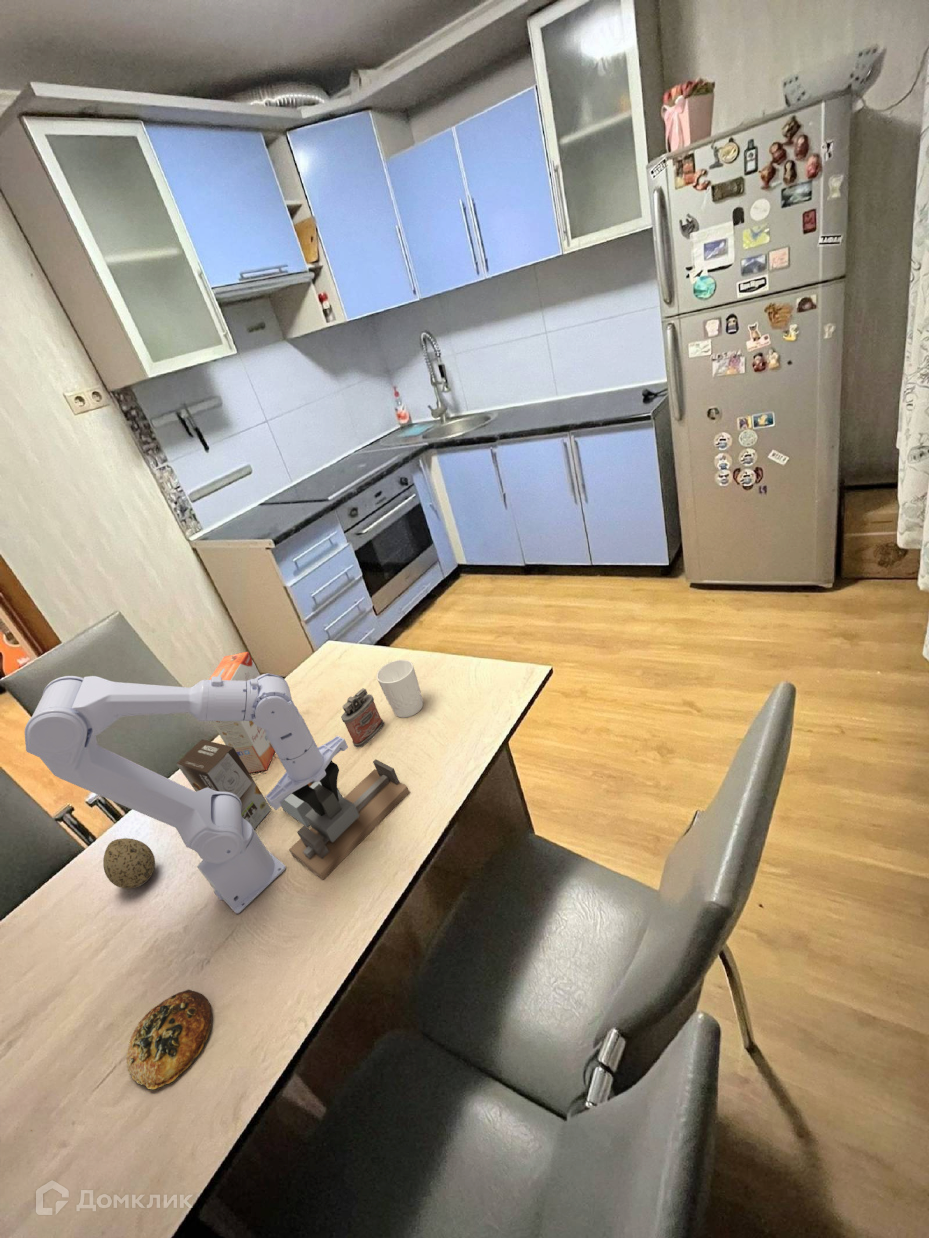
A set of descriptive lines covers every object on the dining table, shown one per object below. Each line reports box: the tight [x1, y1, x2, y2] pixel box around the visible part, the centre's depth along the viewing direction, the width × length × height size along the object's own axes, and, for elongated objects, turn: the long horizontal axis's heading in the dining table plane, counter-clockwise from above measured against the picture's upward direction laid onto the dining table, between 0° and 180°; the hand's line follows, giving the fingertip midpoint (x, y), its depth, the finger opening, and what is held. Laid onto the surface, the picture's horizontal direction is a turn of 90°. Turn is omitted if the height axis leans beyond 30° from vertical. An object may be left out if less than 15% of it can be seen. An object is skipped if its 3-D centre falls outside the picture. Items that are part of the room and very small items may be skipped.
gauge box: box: [281, 781, 342, 828], centre depth 104 cm, size 8×8×5 cm
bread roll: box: [125, 989, 213, 1090], centre depth 74 cm, size 11×11×5 cm
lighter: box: [340, 687, 385, 748], centre depth 116 cm, size 8×3×10 cm, turn 143°
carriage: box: [305, 784, 360, 843], centre depth 94 cm, size 6×6×7 cm
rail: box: [288, 759, 410, 881], centre depth 98 cm, size 20×9×5 cm, turn 139°
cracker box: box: [208, 651, 276, 774], centre depth 118 cm, size 14×6×21 cm, turn 179°
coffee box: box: [176, 739, 272, 830], centre depth 103 cm, size 9×6×16 cm
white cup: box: [376, 658, 424, 718], centre depth 121 cm, size 8×8×10 cm
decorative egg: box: [103, 837, 156, 890], centre depth 97 cm, size 7×7×10 cm
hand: (327, 806), depth 94 cm, fingers closed on carriage, 2 cm apart
